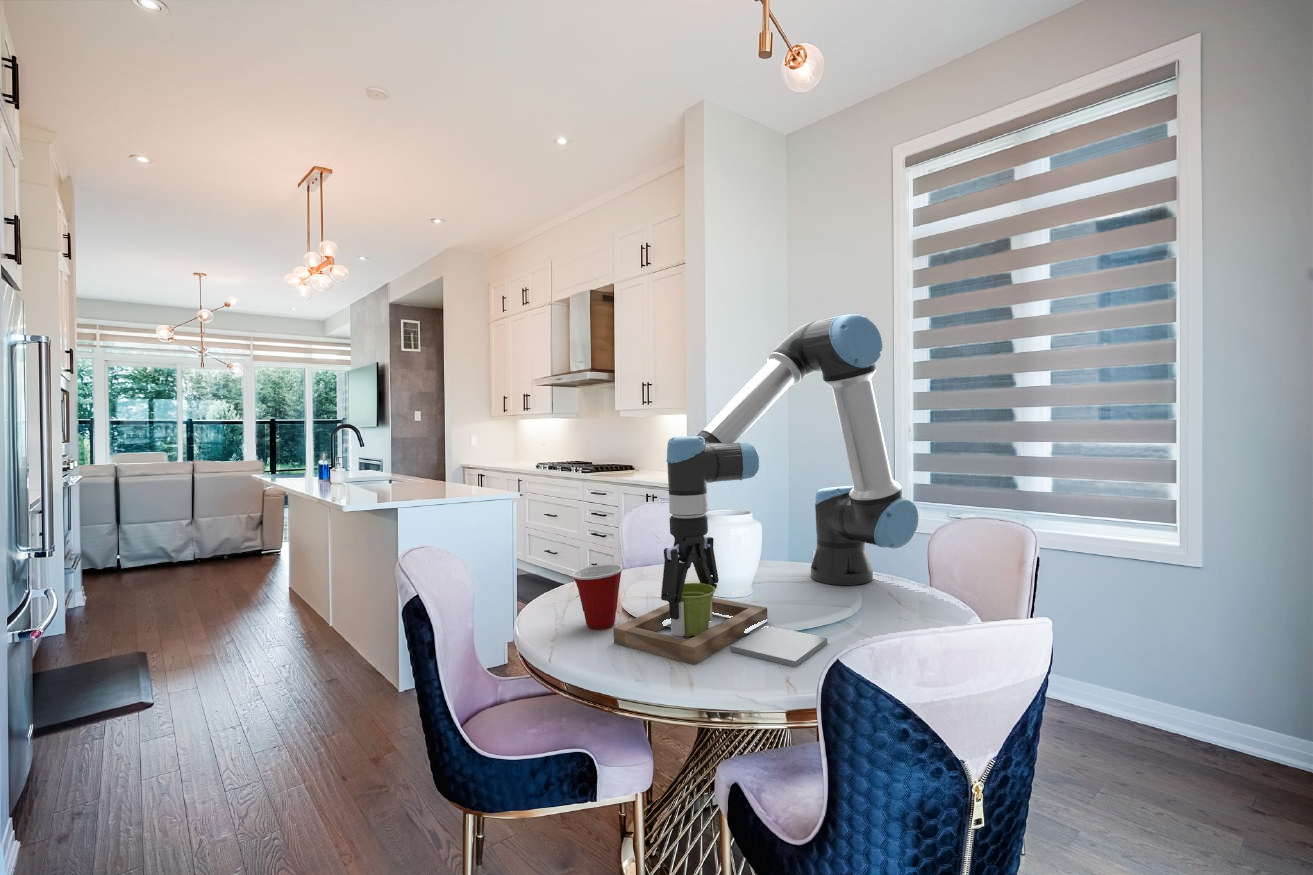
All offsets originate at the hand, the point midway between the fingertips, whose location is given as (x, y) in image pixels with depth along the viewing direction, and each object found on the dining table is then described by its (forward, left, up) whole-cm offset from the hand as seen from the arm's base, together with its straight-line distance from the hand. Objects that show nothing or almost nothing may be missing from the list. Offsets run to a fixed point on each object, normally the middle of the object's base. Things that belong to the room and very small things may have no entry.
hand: (692, 627), depth 128 cm
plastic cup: (+7, -19, -1) cm, 20 cm away
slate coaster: (-2, +18, -1) cm, 18 cm away
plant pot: (0, 0, -1) cm, 1 cm away
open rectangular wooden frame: (0, 0, -1) cm, 1 cm away
